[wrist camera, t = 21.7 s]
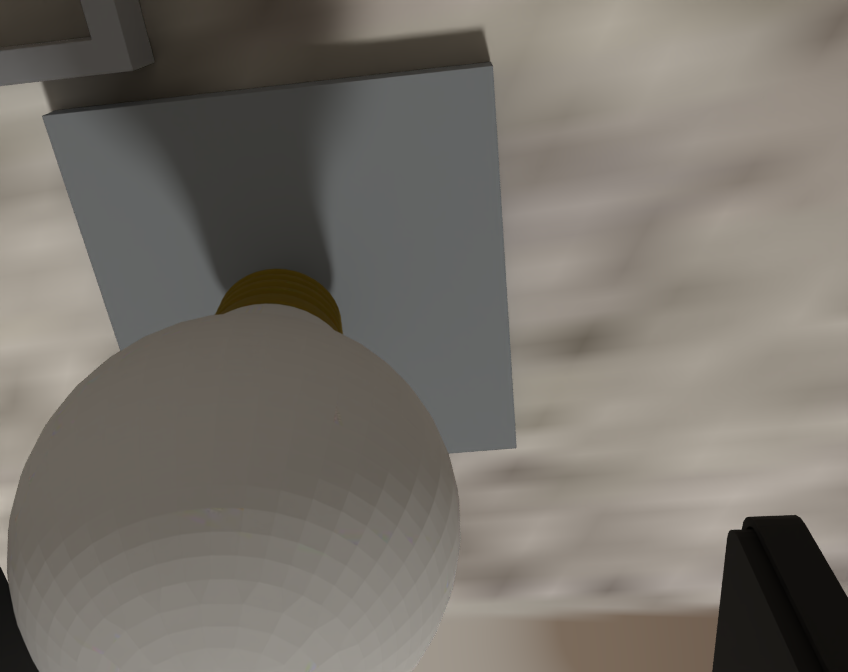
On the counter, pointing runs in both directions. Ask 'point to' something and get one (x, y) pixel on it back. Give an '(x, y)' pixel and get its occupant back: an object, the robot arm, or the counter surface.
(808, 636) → the robot arm
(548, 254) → the counter surface
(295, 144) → the mat
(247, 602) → the light bulb
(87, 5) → the square frame
